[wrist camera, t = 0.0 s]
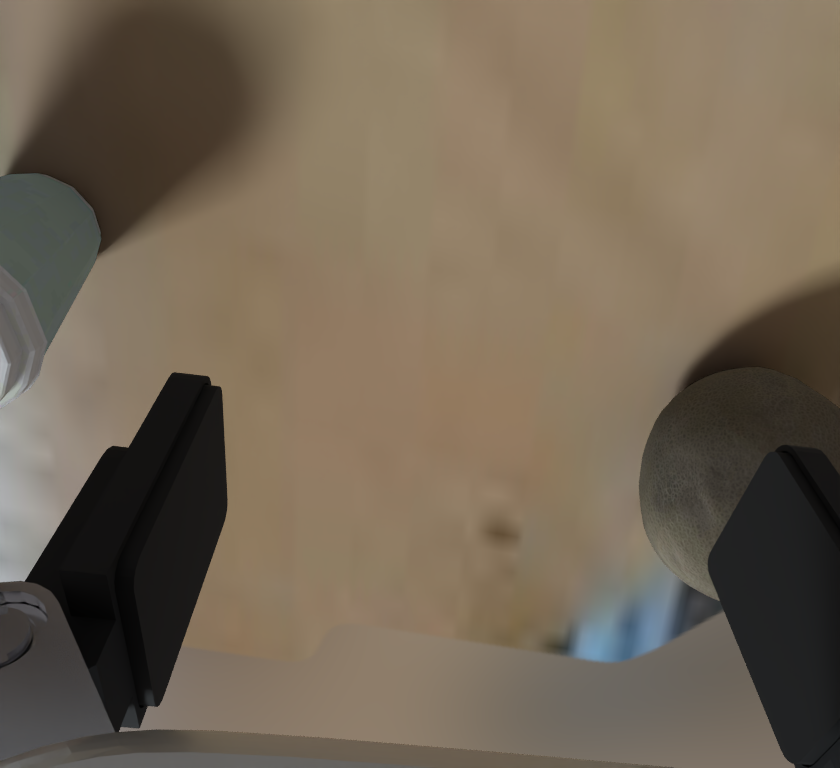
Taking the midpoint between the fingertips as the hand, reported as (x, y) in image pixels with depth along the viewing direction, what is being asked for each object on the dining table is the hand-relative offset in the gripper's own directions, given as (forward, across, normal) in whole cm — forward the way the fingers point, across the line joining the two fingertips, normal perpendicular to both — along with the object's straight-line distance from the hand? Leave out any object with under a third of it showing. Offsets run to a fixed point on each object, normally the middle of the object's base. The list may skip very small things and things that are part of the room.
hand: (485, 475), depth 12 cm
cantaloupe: (+31, -23, +20) cm, 43 cm away
